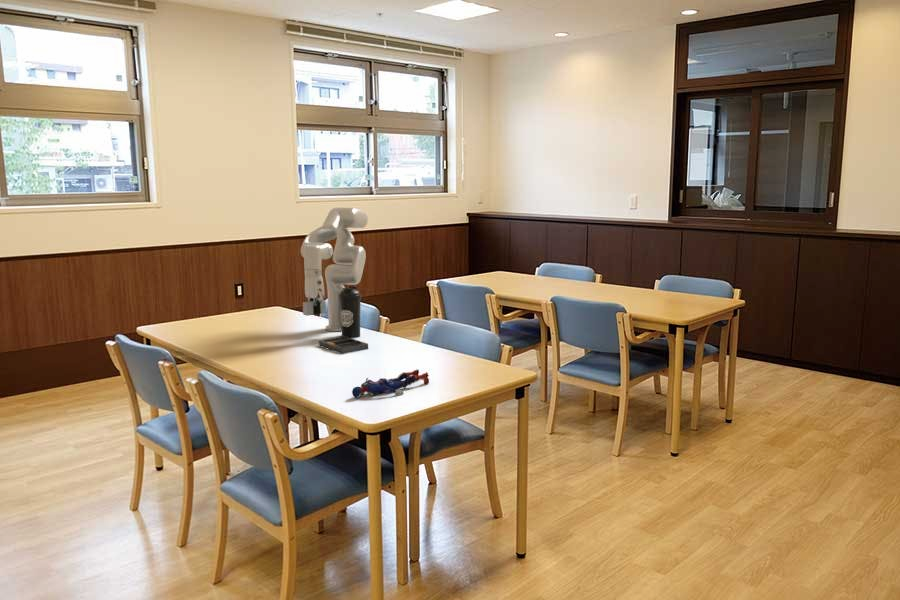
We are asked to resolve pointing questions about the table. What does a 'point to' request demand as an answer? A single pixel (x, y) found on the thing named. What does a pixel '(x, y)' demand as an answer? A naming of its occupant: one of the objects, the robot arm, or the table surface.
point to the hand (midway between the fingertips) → (314, 312)
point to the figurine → (390, 384)
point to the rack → (343, 344)
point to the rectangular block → (309, 308)
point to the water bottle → (350, 311)
